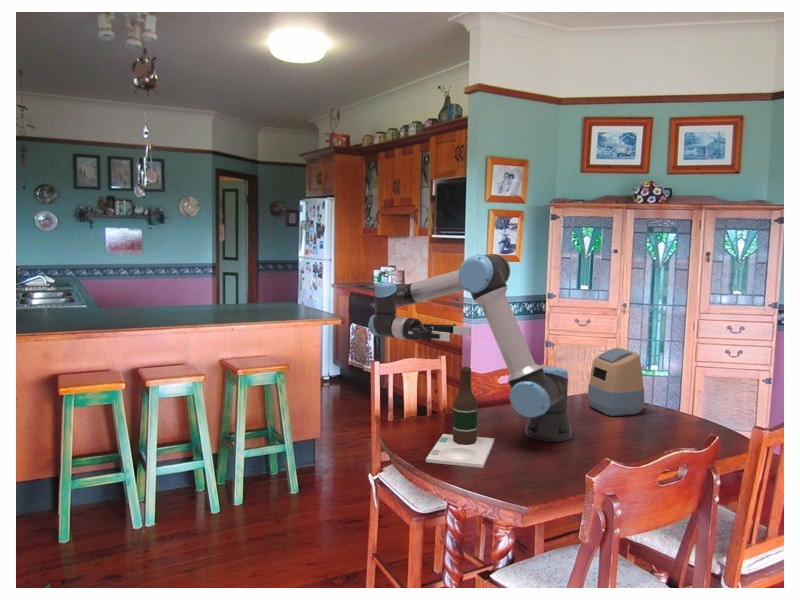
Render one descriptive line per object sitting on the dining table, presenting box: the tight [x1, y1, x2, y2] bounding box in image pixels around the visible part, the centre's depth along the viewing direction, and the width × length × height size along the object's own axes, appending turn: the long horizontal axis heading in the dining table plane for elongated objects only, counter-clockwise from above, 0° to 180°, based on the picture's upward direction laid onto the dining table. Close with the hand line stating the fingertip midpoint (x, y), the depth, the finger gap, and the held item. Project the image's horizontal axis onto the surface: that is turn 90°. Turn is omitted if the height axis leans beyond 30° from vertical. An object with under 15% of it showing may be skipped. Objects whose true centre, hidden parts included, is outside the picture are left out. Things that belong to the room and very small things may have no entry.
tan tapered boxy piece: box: [587, 347, 645, 417], centre depth 243 cm, size 17×17×23 cm
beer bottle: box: [452, 366, 478, 445], centre depth 205 cm, size 8×8×24 cm
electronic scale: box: [425, 433, 495, 469], centre depth 200 cm, size 17×24×1 cm
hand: (460, 334), depth 213 cm, fingers open, 13 cm apart
